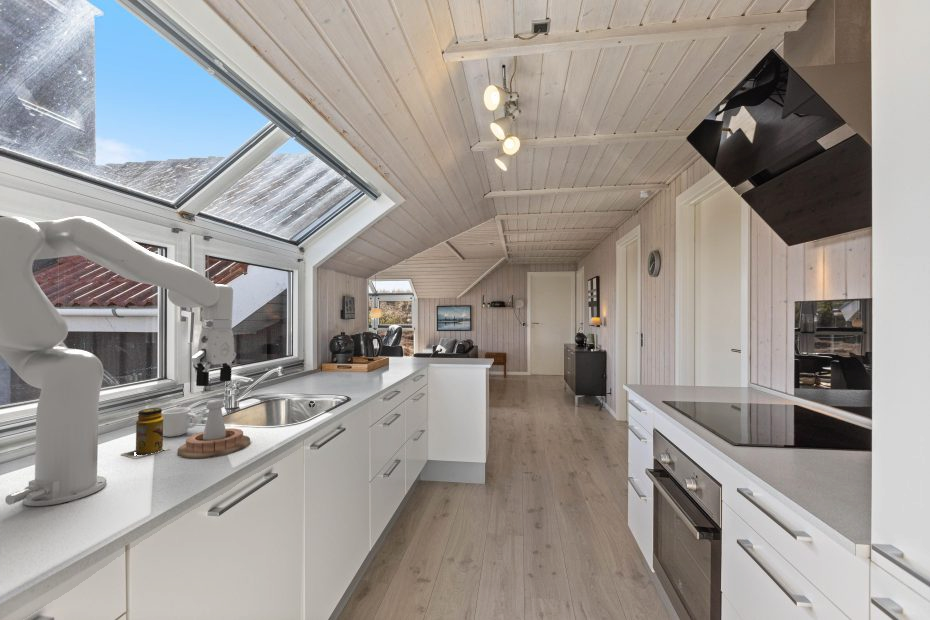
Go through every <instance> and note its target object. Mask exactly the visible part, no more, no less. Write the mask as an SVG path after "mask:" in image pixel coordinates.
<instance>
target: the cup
mask: <svg viewBox="0 0 930 620" xmlns="http://www.w3.org/2000/svg"><path fill="white" fill-rule="evenodd" d="M191 410H192V409H191V408H190V407H174V408H168V409H165V410H164V409H163V410H162V417H163V437H166V438H167V437H168V438H170V437H179V436H182V435H185V434H186V433H187V432H188V431H189V429H192V428H194V427H196V426H197V425H198V422H199V417H198V415H197V414H196V413H194V412H192V411H191ZM191 417H192V418H193V424H191V422H190V419H191Z"/></svg>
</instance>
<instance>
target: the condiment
mask: <svg viewBox="0 0 930 620" xmlns="http://www.w3.org/2000/svg"><path fill="white" fill-rule="evenodd" d="M162 411H163V409H162V408H160V407H151V408H145V409H141V410H139V411H138V412H137V413H138V416H137V418H138V420H137V421H136V424H135V425H136V426H135V431H136V432H135V449H134V450H132V451H128V452H124V453H121V454H120V455H121V456H123V457H127V456H128V457H127V458H131V459H135V460H137V459H139V458H143V457H146V456H151V455H152V454H151V453H155V452H157V453H155V454H158V453H159V452H158V451H161V450H163V448H165V449H167V450H165V449H164V450H165V451H168V450H170V448H168V447H164V445H163V444H164V435H163V417H162ZM134 452H136V454H137V455H143V456H137V455H136V456H134ZM146 454H149V455H146Z"/></svg>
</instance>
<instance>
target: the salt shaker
mask: <svg viewBox="0 0 930 620" xmlns="http://www.w3.org/2000/svg"><path fill="white" fill-rule="evenodd" d="M224 403H225V402H224V400H223V399H220V398H217V399H211V400H208V401H207V402H206V405H205V408H206V409H207V410H208V412H207V413H208V414H207V418H206V421H205V426H204V431H203V432H204V434H203V440H204V441H212V440H219V439H224V438H225V437H226V430H225V429H226V426H225V421H224V415H223V410H222V409H223V407H224Z"/></svg>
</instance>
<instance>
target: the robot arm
mask: <svg viewBox="0 0 930 620" xmlns="http://www.w3.org/2000/svg"><path fill="white" fill-rule="evenodd" d="M73 256H74V257H75V256H81V257H83V258H85V259H86V260H89V261H91V262H93V263H94V264H97V265H98V266H100V267H102V268H104V269H107V270H109V271H111V272H112V273H114V274H116V275H118V276H120V277H122V278H123V279H127V280H129V281H133V282H136V283H140V284H146V285H151V286H155V287H158V288H163V289H166V290H168V291H167V298H168V299H169V302H170V303H172V304H173V305H175V306H177V307H180V308H186V309H187V308H189V309H190V308H202V310H201V311H202V315H201V330H200V335H199V339H198V345H197V353H195V354H194V355H193V356H192V357H191V362H192V366H193V368H194V369H195V370H194V371H195V373H196V379H195V380H196V381H195V383H196V384H195V385H196V387H208V386H209V382H210V381H209V379H210V372H209V371H208V370H209V369H210V367H211V365H213V366H215V365H220V366H221V367H220V370H219V382H231V381H232V368H233V367H234V363H235V360H236V356H237V353H236V352H235V338H234V332H233V330H232V327H233V325H232V324H233V304H234V303H233V302H234V301H233V300H234V289H233V287H232V286H231V285H227V284H220V283H219V284H218V283H214V282H213V281H212V280H211V279H209V278H208V277H206V276H205V275H203V274H201V273H199V272H198V271H196V270H194V269H192V268H190V267H189V266H186V265H184V264H181V263H180V262H176V261H175V260H171V259H169V258H167V257H165V256H162V255H159V254H157V253H154V252H152V251H151V250H150V251H149V250H148V249H146V248H145V247H143V246H141V245H140V244H138V243H136V242H135V241H132V240H131V239H130V238H127V237H126V236H124V235H122V234H121V233H120V232H117V230H114V229H113V228H111V227H109V226H107V225H106V224H104V223H102V222H101V221H98V220H97V219H94V218H91V217H87V216H81V215H80V216H72V217H71V216H70V217H66V218H62V219H55V220H41V221H40V220H38V221H37V220H36V221H31V220H29V219H27V218H23V217H19V216H1V217H0V357H2V358H3V360H4V361H5V362H6V363H7V364H8V365H9V367H11V369H12V370H13V371H14V373H16V375H17V376H18V377H20V379H21V380H22V381H24V383H26V384H28V385H29V386H31V387H33V388H36V389H40V394H39V398H38V403H37V407H36V414H35V417H36V418H35V450H34V451H35V452H34V453H35V454H34V456H35V458H34V479H32V480H30V481H29V480H28V486H26V487H25V488H23V489H22V490H19V491H16V492H13V493H11V494H8V495H7V496H5V500H4V501H5V503H6V504H7V505H11V506H12V505H13V504H16V503H19V502H22V503H23V505H25V506H27V507H46V506H53V505H59V504H63V503H66V502H67V503H68V502H72V501H75V500H78V499H81V498H85V497H87V496H90V495H92V494H94V493H97V492H99V491H101V490H102V489H103V488H104V487H106V485H107V477H104V476H100V475H98V450H99V449H98V448H99V405H100V397H101V396H100V393H101V388H102V384H103V379H104V373H105V371H104V365H103V363H102V361H101V360H100V358H98V357H97V355H95V354H93V353H91V352H89V351H87V350H84V349H79V348H78V349H77V348H69V347H68V346H67V345H66V344H65V342H64V341H65V340H66V339H67V337H68V333H69V326H68V324H67V321H66V319H64V317H63V316H62V315H61V313H60V312H59V311H58V310H57V309H56V307H55V306H54V305H53V303H52V302H51V300H50V299H49V298H48V296H47V295H46V294H45V292H44V291H43V290H42V288H41V287H40V285H39V282H38V281H37V280H36V278H35V276H34V273H33V265H34V261H35V260H46V259H47V260H48V259H56V258H65V257H73Z"/></svg>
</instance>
